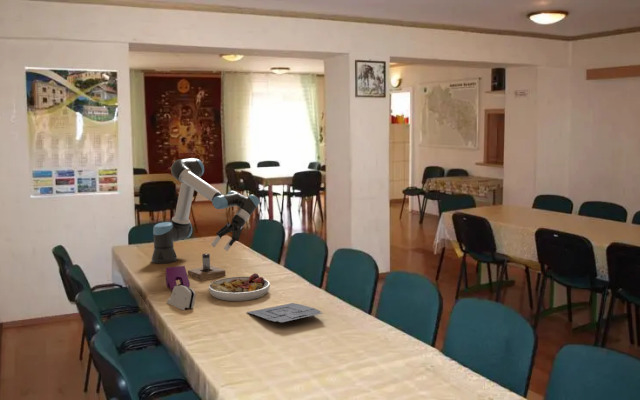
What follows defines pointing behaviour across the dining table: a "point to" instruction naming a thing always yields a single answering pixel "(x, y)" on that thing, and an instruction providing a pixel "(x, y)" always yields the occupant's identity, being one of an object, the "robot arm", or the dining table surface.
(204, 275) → the socket block
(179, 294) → the napkin holder
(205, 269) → the grey and black cylinder
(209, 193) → the robot arm
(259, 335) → the dining table surface
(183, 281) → the mounting bracket
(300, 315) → the grey flat panel
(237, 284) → the bowl
